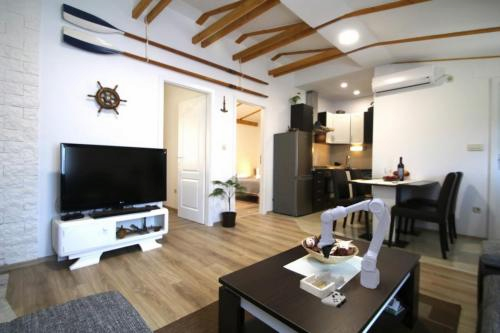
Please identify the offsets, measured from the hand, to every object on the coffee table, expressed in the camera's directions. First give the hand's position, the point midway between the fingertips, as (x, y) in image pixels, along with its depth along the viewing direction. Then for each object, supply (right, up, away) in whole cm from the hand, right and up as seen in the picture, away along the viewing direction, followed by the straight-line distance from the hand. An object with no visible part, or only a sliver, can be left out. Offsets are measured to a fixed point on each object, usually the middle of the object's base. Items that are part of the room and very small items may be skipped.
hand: (326, 257), depth 126 cm
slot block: (-1, -10, -8) cm, 13 cm away
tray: (-10, -10, -16) cm, 21 cm away
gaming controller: (-4, -11, -25) cm, 27 cm away
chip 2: (-7, -9, -14) cm, 18 cm away
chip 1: (-10, -9, -16) cm, 21 cm away
